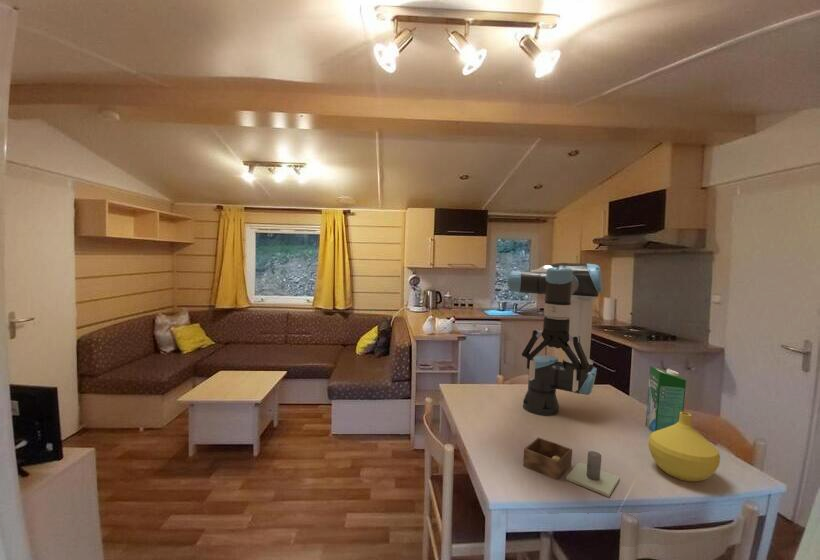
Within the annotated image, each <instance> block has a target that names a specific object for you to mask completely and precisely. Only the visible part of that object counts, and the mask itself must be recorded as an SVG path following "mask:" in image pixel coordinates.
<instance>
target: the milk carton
mask: <svg viewBox="0 0 820 560" xmlns="http://www.w3.org/2000/svg"><path fill="white" fill-rule="evenodd" d="M648 376H649V377H648V391H647V392H648V393H647V406H646V415H645V416H646V418H645V427H646V426H647V427H648V428H649V429H650V430H651V431H652V432H654V431H657V430H660V429H663V428H666V427H669V426H672V425H674V424H676V423H677V422H679V416H680V412H685V411H684V410H685V409H684V408H685V399H686V398H685V396H686V388H687V387H686V386H687V380H686V379H685V378H683V377H681V376H680V373H679V372H678V371H675V370H673V369H670V368H667V369H662V368H659V367H656V366H653V365H650V367H649V375H648ZM647 427H646V428H647ZM648 428H647V429H648ZM649 429H648V430H649ZM650 430H649V431H650ZM651 431H650V432H651ZM652 432H651V433H652Z"/></svg>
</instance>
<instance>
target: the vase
mask: <svg viewBox="0 0 820 560" xmlns="http://www.w3.org/2000/svg"><path fill="white" fill-rule="evenodd" d="M648 449H649V451H650V455H651V457H652V459H653V461H654V462H655V463H656V464H657V466H658V467H659V468H660V469H661V470H662V471H663V472H665V473H666V475H669V476H671V477H673V478H675V479H678V480H681V481H685V482H700V481H705V480H706V479H708V478H710V477H711V476H713V475H714V473H715V472H716V470H717V469H718V468H719V466H720V462H721V461H720V460H721V456H720V453H719V450H718V449H717V447H715V445H713V444H712V443H711V442H710V441H708V440H707V438H705V437H704V436H703V435H701V434H700V432H699V431H697V430H696V429H695V428H694V427H693V425H692V414H691V413H689V412H685V411H683V412H680V416H679V422H677V423H676V424H674V425H672V426H669V427H666V428H663V429H660V430H657V431H654V432H651V433H650V435H649V436H648Z"/></svg>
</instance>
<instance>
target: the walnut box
mask: <svg viewBox="0 0 820 560" xmlns="http://www.w3.org/2000/svg"><path fill="white" fill-rule="evenodd" d="M553 456H558V457H559V458H560V459H559V460H558V461H557V460H554V459H552V457H553ZM572 458H573V448H569V447H567V446H564V445H562V444H558V443H556V442H553V441H550V440H548V439H544V438H541V437H537V438H536V439H534V441H532V442H531V443H530V444H527V446H526V447H525V448H524V449H523V459H522V460H523V461H522V462H523V463H522V465H523V467H525V468H529V469H530V470H533V471H535V472H537V473H540V474H543V475H545V476H547V477H549V478H552V479H553V480H557V481H559V480H560V478H562V477H563V476H564V474H565V473H566V472H568V470H569V469H570V468H571V466H572Z"/></svg>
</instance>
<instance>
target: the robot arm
mask: <svg viewBox="0 0 820 560" xmlns="http://www.w3.org/2000/svg"><path fill="white" fill-rule="evenodd" d="M603 284H604V282H603V272H602V268H601V266H599V265H598V264H594V263H579V262H577V263H575V262H573V263H572V262H568V263H567V262H557V263H550V264H546V265H542V266H540V267H539V268H537V269H531V270H527V271H526V270H512V271H510V272H509V275H508V277H507V287H508V290H509V291H511V292H512V293H513V292H514V293H518V294H520V293H521V294H536V295H537V294H538V295H544V310H543V315H544V317H543V324H542V328H543V330H540V329H538V328H537V329H534V330H533V331H532V335H531V338H530V340H529V341H528V343H527V344H526V346H525V348H524V349H523V351H522V352H521V356H522V357H523V358H525V359H526V361H527V362H526V369H528V381H527V382H528V385H527V391H526V393H525V396H524V398H523V400H522V401H523V402H522V407H523V409H524V410H526V411H527V412H529V413H531V414H535V415H540V416H549V417H550V416H555V415H558V414H559V413H560V404H559V401H558V398H557V397H558V396H557V393H556V392H557V390H560V391H565V392H569V393H574V394H578V395H586V396H588V395H591V393H592V391H593V389H594V386H595V381H596V377H597V371H598V369H597V367H595V366H594V362H593V360H592V359H591V358H590V357H591V355H590V354H591V342H592V328H593V327H592V326H593V312H594V301H595V300H597V298H598V297H599V294H602V293H603V289H604V287H603V286H604V285H603ZM540 337H542V342H541V343H540V344H538V346H537V347H536V348H534V350H532V349H533V347H534V346H535V344H536V342H537V341H538V339H539V338H540ZM546 347H548V348H555V349H558V350H559V349H561V350H562V351H563V352H564V353H565V355H566V356H564V357H563V358H562V361H559V359H558V357H556V356H553V355H538V354H539V353H540V352H541V351H542V350H543V349H545V348H546Z"/></svg>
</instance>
